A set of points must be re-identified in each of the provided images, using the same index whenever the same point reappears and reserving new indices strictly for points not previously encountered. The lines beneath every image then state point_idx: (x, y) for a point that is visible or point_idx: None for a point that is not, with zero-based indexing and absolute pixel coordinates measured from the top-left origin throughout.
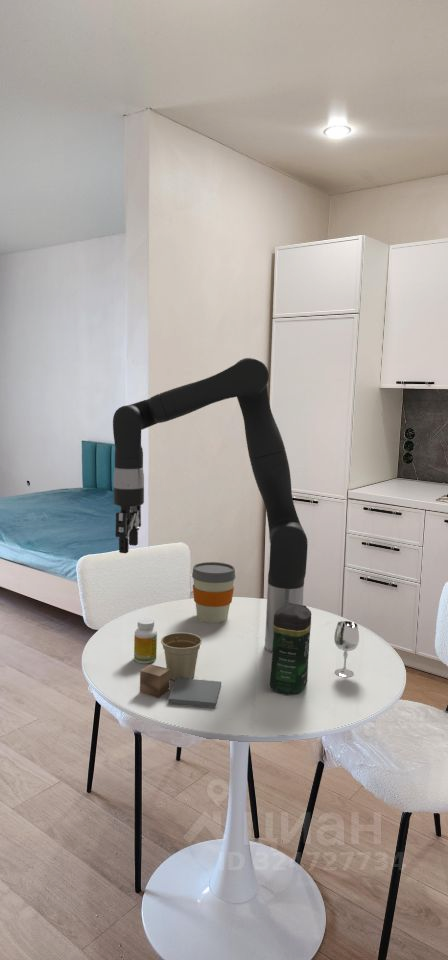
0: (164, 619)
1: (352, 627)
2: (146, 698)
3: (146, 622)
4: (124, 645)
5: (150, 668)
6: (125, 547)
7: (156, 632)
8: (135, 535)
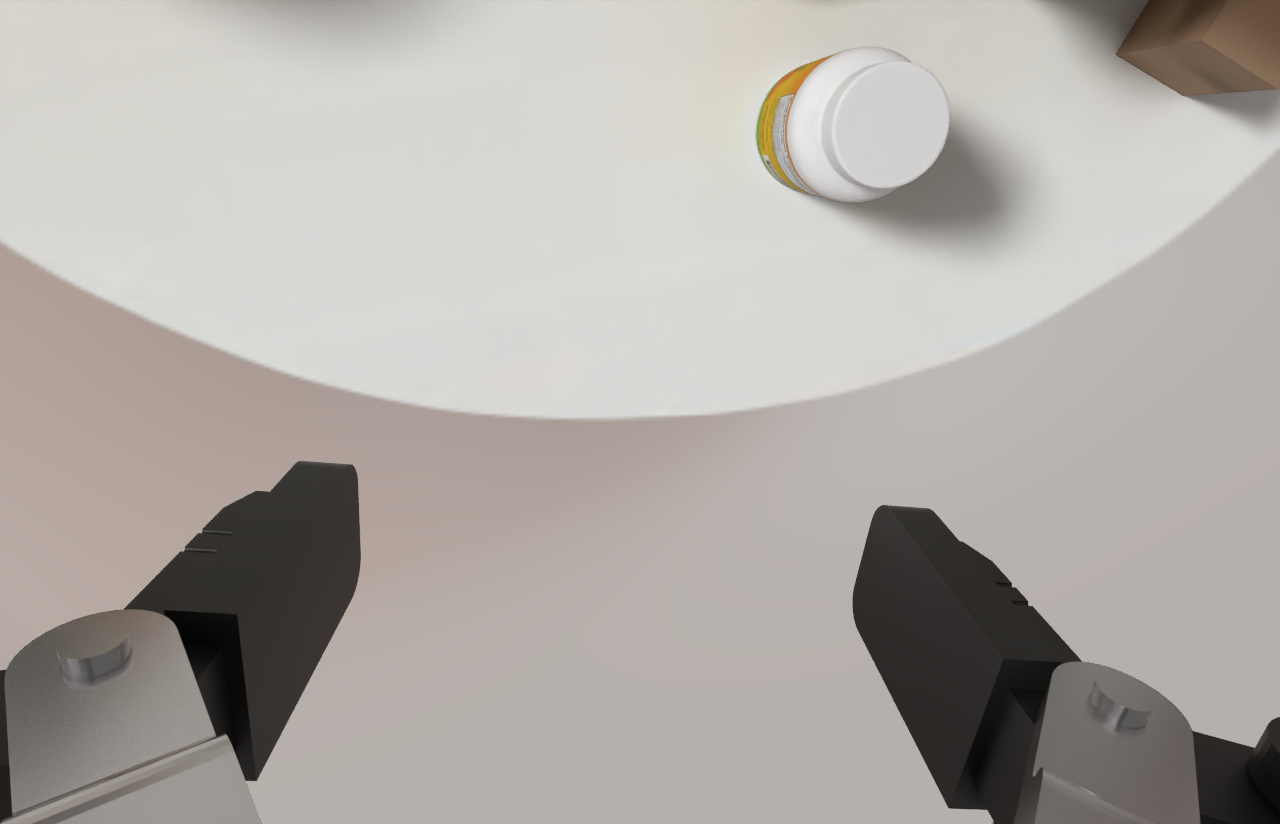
0: (167, 97)
1: None
2: None
3: (920, 118)
4: (636, 274)
5: (1261, 31)
6: (1004, 581)
7: (874, 47)
8: (287, 589)
